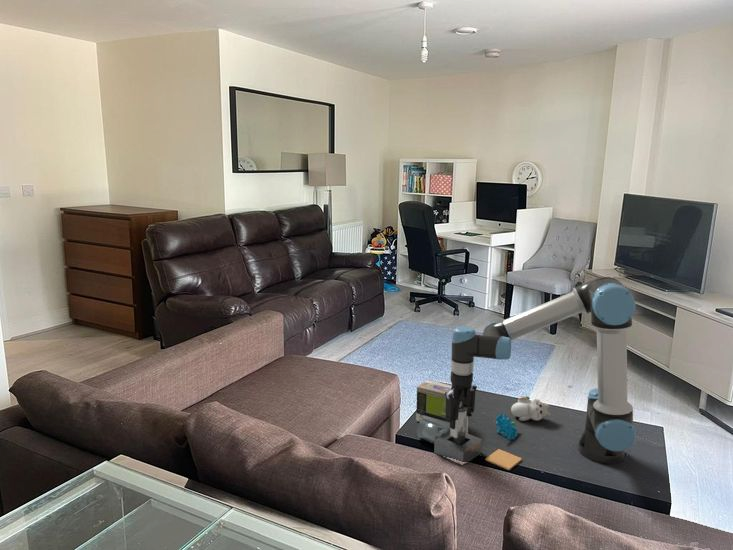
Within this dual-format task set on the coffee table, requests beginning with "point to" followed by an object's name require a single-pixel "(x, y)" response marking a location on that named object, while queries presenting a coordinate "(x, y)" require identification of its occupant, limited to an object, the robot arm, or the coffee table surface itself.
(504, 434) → the gear
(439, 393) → the tea box
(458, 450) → the grey piece
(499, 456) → the pad
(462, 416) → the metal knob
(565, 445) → the coffee table surface
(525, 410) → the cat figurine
